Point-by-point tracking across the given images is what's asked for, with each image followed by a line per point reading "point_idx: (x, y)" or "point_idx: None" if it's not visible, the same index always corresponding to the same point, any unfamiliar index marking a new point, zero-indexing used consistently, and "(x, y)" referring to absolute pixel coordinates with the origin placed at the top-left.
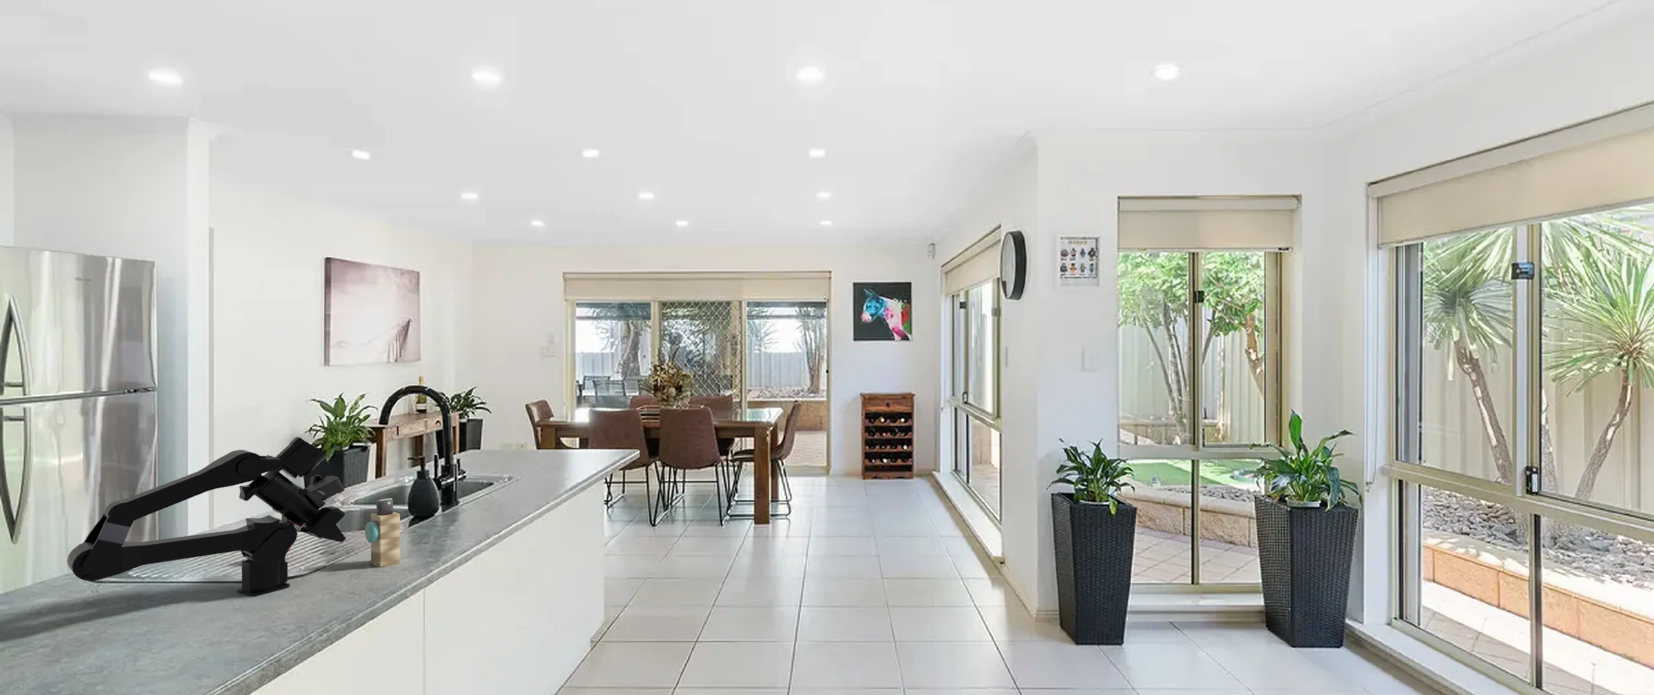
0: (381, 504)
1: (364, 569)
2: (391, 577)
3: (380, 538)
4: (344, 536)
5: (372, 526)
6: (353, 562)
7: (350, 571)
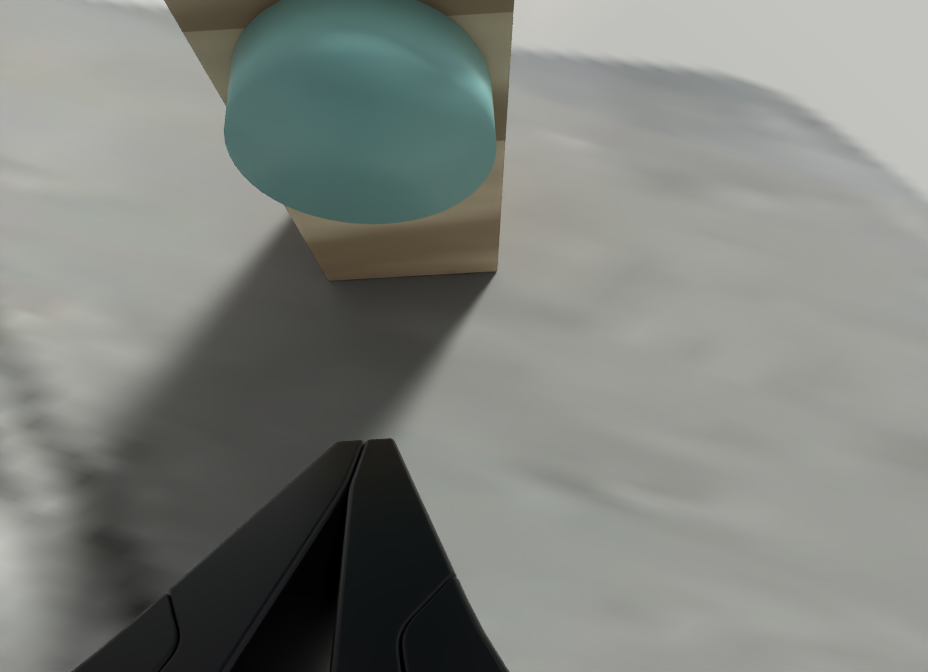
0: None
1: (458, 362)
2: (831, 306)
3: (503, 129)
4: (400, 456)
5: (457, 79)
6: (187, 353)
7: (431, 451)
